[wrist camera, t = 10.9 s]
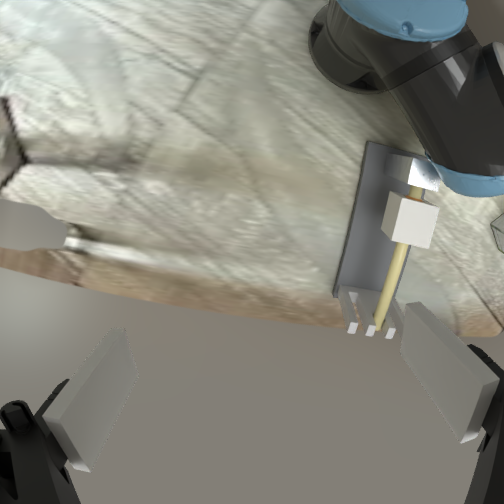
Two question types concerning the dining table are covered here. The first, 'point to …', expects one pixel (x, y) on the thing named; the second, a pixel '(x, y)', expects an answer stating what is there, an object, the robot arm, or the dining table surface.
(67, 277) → the dining table surface
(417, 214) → the sleeve
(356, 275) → the cable comb board
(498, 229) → the syrup box
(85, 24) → the dining table surface
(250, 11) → the dining table surface
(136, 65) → the dining table surface
